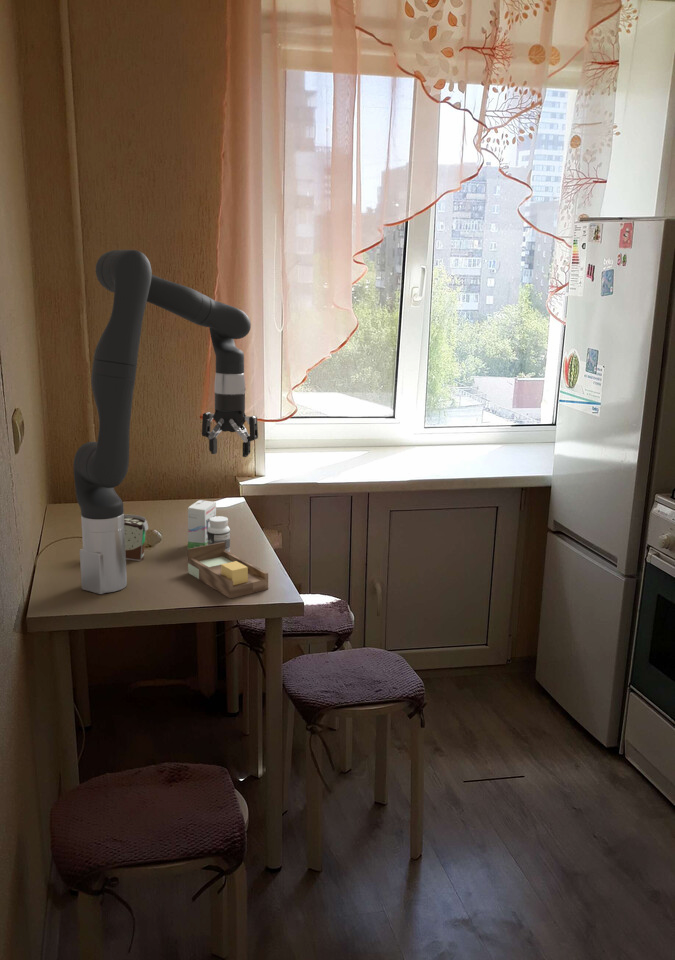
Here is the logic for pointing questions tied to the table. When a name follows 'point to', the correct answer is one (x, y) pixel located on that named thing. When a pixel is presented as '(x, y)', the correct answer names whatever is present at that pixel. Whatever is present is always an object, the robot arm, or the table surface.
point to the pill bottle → (219, 531)
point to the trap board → (220, 582)
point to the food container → (135, 536)
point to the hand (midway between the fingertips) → (229, 455)
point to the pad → (209, 563)
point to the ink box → (199, 522)
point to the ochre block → (235, 572)
